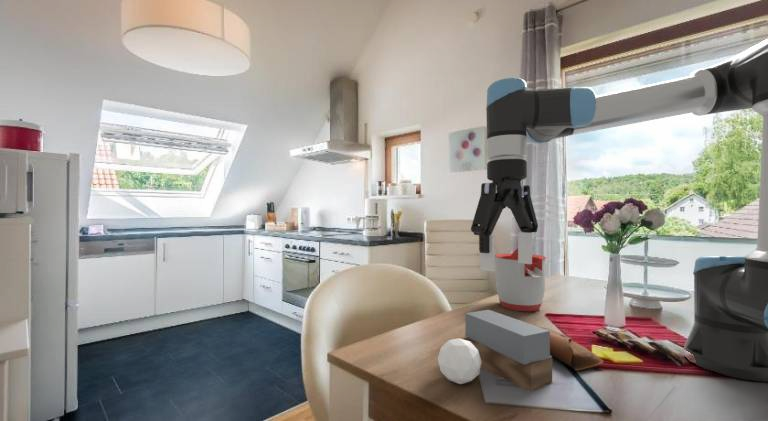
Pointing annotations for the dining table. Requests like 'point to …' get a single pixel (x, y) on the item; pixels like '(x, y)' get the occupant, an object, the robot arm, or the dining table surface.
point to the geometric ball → (459, 361)
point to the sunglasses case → (572, 352)
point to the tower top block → (508, 336)
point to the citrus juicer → (520, 282)
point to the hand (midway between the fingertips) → (507, 266)
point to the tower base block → (515, 368)
